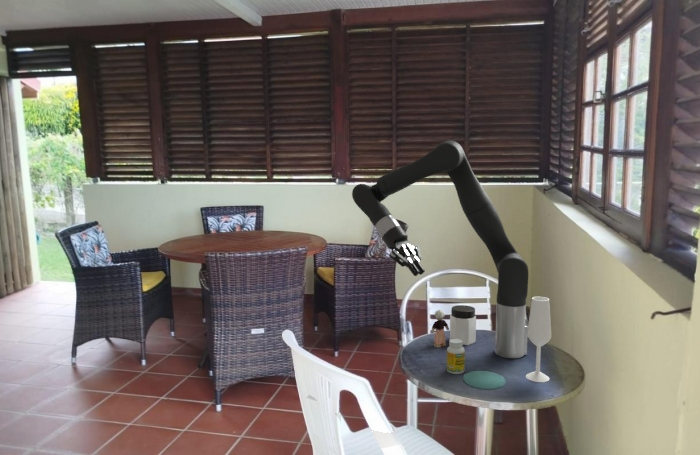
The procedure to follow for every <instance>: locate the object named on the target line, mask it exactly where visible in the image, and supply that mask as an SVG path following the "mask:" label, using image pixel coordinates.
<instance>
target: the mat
mask: <svg viewBox="0 0 700 455" xmlns="http://www.w3.org/2000/svg"><path fill="white" fill-rule="evenodd" d="M462 380H463V382H465V384H467V385H468V386H470V387H473V388H476V389H482V390H496V389H500V388H503V387H504V386H505V385H506V383H507V382H506V378H505V377H504V376H503V375H501V374H498V373H496V372H492V371H487V370H475V371H474V370H473V371H469V372H467V373H465V374H464V375H463V378H462Z"/></svg>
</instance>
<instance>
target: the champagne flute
mask: <svg viewBox="0 0 700 455" xmlns="http://www.w3.org/2000/svg"><path fill="white" fill-rule="evenodd" d="M550 306H551V305H550V298H548V297H545V296H533V297H531V304H530V310H529V311H530V312H529V318H528V325H527V327H528V331H527V339H529V341H530V342H531V343H532V344H533V345H534V346H536V352H535V353H536V354H535V357H536V358H535V370H534V371H532V372H529V373H527V374H526V375H525V378H526V379H527V380H529V381H532V382H536V383H545V382H549V381H550V377H549V376H548V375H546V374H545V373H543V372H541V353H542V351H541V350H542V347H543V346H544V345H546V344H547V343H549V341H550V340H551V338H552V325H551V324H552V322H551V308H550Z"/></svg>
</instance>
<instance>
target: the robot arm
mask: <svg viewBox="0 0 700 455" xmlns="http://www.w3.org/2000/svg"><path fill="white" fill-rule="evenodd" d="M428 152H429V151H428ZM445 172H446V174H447V175H448V177H449V178H450V180H451V181H452V183H453V185H454V188H455V190H456V194H457V197H458V200H459V203H460V206H461V209H462V211H463V213H464V215H465V217H466V218H467V221H468V222H469V224H470V225H471V227H472V228H473V230H474V231H475V233H476V234H477V236H478V237H479V238H480V240H481V241H482V243H484V245H485V246H486V248H487V249H488V251H489V253H490V256H491V258H492V261H493V263H494V266H495V268H496V271H497V275H498V276H497V278H498V279H497V284H498V285H497V292H496V310H495V311H496V312H495V314H496V315H495V341H494V342H495V347H494V348H495V349H494V352H495V354H496V355H497V356H499V357H502V358H506V359H519V358H522V357H524V356H525V355H527V354H528V353H527V352H528V336H527V331H528V325H526V312H527V310H526V309H527V308H526V307H527V305H526V304H527V298H528V290H529V289H528V288H529V268H528V267H529V266H528V264H527V262H526V261H525V260H524V258H523V257H522V256H521V255H520V253H519V252H518V251H517V249H515V247H514V245H513V244H512V242H511V241H510V239H509V238H508V235H507V234H506V231H505V228H504V226H503V222H502V221H501V218H500V216H499V215H500V214H498V211H497V210H496V208H495V206H494V204H493V202H492V201H491V198H490V197H489V196H488V194H487V192H486V191H485V189H484V187H483V186H482V184H481V183H480V182H479V180H478V179H477V177H476V175H475V174H474V172H473V170H472V167H471V165H470V162H469V161H468V158H467V156H466V154H465V151H464V149H463V147H462V145H461V144H459V142H456V141H455V140H445V141H443V142H441V143H439V144H438V145H437V146H435V148H433V149H432V150H431V151H430V152H429V153H427V154H425V155H423V156H422V157H420V158H419V159H417V160H415V161H413V162H411V163H409V164H406V165H402V166H401V167H399V168H396V169H393V170H392V171H390V172H388V173H385V174H383V175H381V176H380V177H378V178H377V180H376V183H375V184H374V185H371V186H370V185H367V184H365V183H360V184H357V185H355V186H354V187H353V189H352V192H351V197H352V199H353V202H354V203H355V205H356V206H357V207H358V208H359V210H361V211H362V212H363V213H364V215H365V216H367V218H368V219H369V221H370V222H371V224H372V225H373V226H374V228H375V230H376V232H377V234H378V235H379V237H380V238H381V240H382V241H383V242H384V244H385V245H386V247H387V249H389V250H391V252H390V253H389V254H388V256H389V258H391V259H392V260H393V261H395V262H396V263H397V264H399V265H400V266H401V267H405V268H407V269H408V270H409V271H410V273H411V274H412V275H413V277H417V276H418V275H423V274H424V273H425V271H426V270H425V268H424V267H423V265H422V264H421V260H423V256H422V254H421V249H420V246H419V245H417V244H416V245H415V246H414V245H412V243H411V242H409V240H408V234H407V233H406V231H405V230H404V229H403V227H402V226H401V225H400V223H399V221H398V220H397V219H396V218H395V217H394V216H393V214H392V213H391V212H390V210H389V209H388V208H387V206H386V205H384V204H383V203H381V202H383V201H384V200H385V199H387V198H388V197H389V196H390V195H394V194H395V193H398V192H400V191H403V190H405V189H406V188H408V187H410V186H412V185H413V184H415V183H416V182H417V183H418V182H419V181H421V180H424V179H426V178H429V177H431V176H433V175H437V174H441V173H445Z"/></svg>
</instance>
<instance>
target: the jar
mask: <svg viewBox="0 0 700 455" xmlns="http://www.w3.org/2000/svg"><path fill="white" fill-rule="evenodd" d="M450 312H451V314H450V316H449V340H451V339H460V340H462V341H463V345H462V346H469V345H472V344H474V343H476V338H477V337H476V336H477V335H476V334H477V316H476V308H475V307H473V306H472V305H466V304H465V305H464V304H461V305H460V304H459V305H454V306H452V307H451V311H450Z"/></svg>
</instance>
